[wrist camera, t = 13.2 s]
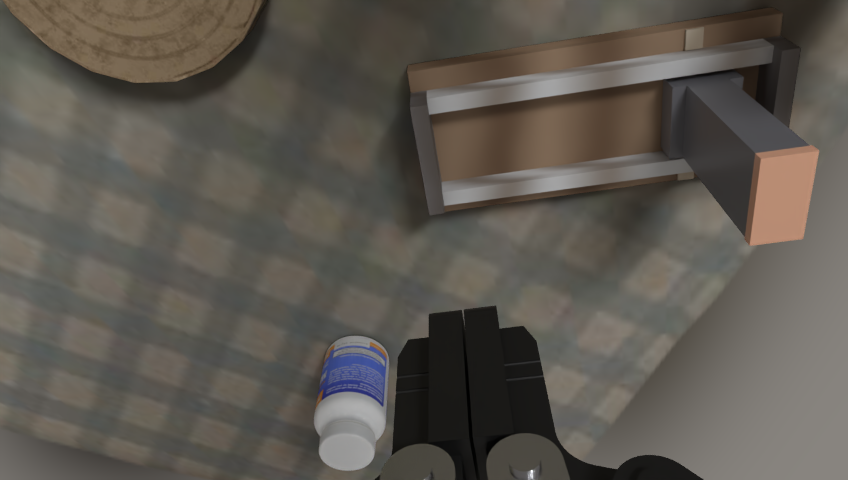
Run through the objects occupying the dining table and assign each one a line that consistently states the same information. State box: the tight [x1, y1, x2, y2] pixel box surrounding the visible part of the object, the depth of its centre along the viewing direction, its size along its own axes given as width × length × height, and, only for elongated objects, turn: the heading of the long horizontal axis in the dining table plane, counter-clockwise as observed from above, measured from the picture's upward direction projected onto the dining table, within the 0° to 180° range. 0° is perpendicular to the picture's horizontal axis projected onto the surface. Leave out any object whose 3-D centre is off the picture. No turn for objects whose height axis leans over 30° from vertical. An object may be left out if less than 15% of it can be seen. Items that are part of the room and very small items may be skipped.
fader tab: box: [661, 69, 819, 246], centre depth 35 cm, size 4×5×12 cm
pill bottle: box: [314, 336, 389, 471], centre depth 49 cm, size 5×5×10 cm
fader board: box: [407, 7, 801, 215], centre depth 40 cm, size 22×10×4 cm, turn 99°
